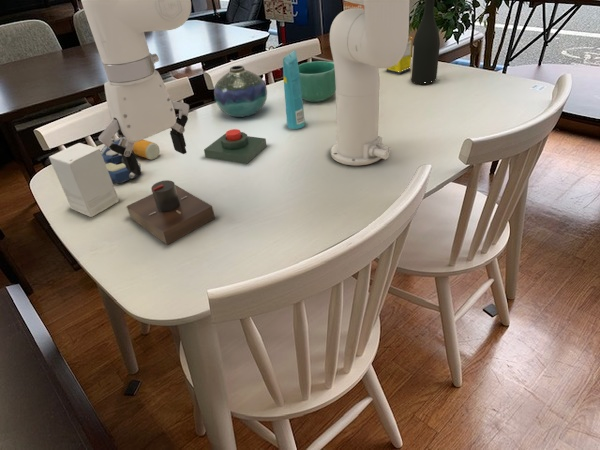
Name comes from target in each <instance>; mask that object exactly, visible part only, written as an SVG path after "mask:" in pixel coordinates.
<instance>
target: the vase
mask: <svg viewBox="0 0 600 450" xmlns="http://www.w3.org/2000/svg"><path fill="white" fill-rule="evenodd" d="M213 98H214V101H215V103H216V105H217V107H218V108H219V109H220V111H222V112H223V113H224V114H226V115H228V116H231V117H234V118H243V117H246V118H247V117H250V116H252V115H255V114H257V113H258V112H259V111H261V110H262V109H263V107H264V106H265V104H266V101H267V98H268V87H267V84H266V82H265V81H264V79H263V78H262V77H261V76H260V75H258V74H257V73H254V72H253V71H250V70H247V69H245V66H243V65H234V66H231V67H229V71H228V72H227V73H225V74H224V75H223V76H221V77H220V78H219V79H218V80H217V81H216V83H215V86H214V88H213Z"/></svg>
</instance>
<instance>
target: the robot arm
mask: <svg viewBox="0 0 600 450" xmlns="http://www.w3.org/2000/svg"><path fill="white" fill-rule="evenodd" d="M80 1H81V4H82V9H83V11H84V14H85V17H86V20H87V22H88V26H89V28H90V31H91V34H92V37H93V40H94V42H95V43H94V44H95V46H96V49H97V51H98V54H99V57H100V60H101V63H102V65H103V70H104V71H105V72H104V73H105V74H106V78H107V80H108V81H106V82H104V83H103V85H104V94H105V99H106V104H107V109H108V112H109V117H110V120H111V122H110V123H109V124H108V125H107V126H106V128H105V129H104V130H103V131H102V132H101V133H100V134H99V136H98V141H99V142H101V143H102V144H103V145H104V146H107V147H108V148H109V149H111V150H112V151H114V152H117V153H119V154H121V155H122V157H123V160H124V163H125V166H126V168H127V170H128V171H130V172H132V173H134V174H136V175H137V177H138V176H140V175H141V174H142V171H141V170H140V168H141V167H140V168H139V165H138V163H139V162H138V159H137V157H136V156H137V155H136V154H134V153H133V150H132V149H133V147H134V144H135V142H138V141H140V140H145V139H148V138H149V137H152V136H155V135H158V134H159V133H162V132H165V131H167V130H168V129H170V131H169V135H170V138H171V142H172V145H173V149H174V151H176V152H178V153H180V154H182V155H186V154H187V149H186V147H187V143H186V140H185V136H184V133H185V127H186V125H187V124H188V123H187V122H188V120H189V118H188V116H189V111H190V104H188V103H185V102H182V101H176V100H172V99H171V96H170V94H169V90H168V89H167V86H166V84H165V82H164V80H163V78H162V76H161V74H160V72H159V71H158V70H156V67H155V64H156V63H157V62H159V60H160V59H159V55H158V54H157V53H151V51H150V49H149V45H148V42H147V38H146V35H145V33H146V32H166V31H173V30H177V29H178V28H180V27H182V26H183V25H184V24H185V23H187V21H188V19H189V18H190V16H191V12H192V1H191V0H80ZM343 1H345V2H348V3H351V4H356V5H361V6H364V7H363V8H364V9H363V8H357V7H353V8H348V9H345V10H343V11H341V12H339V13H338V14H337V15H336V16H335V18H334V19H333V21H332V23H331V25H330V29H329V46H330V51H331V52H330V53H331V56H332V62H334V68H335V84H336V90H335V116H336V119H335V120H336V143H334V144H333V145H332V147H331V148H330V156H331V158H332V159H333V160H334V161H335V162H338V163H340V164H342V165H347V166H366V165H370V164H373V163H376V162H379V161H380V160H382V159H383V160H388V158H389V157H390V152H391V149H392V148H391V146H389V145H384V144H383V137H382V136H379V117H380V87H381V83H380V82H381V80H380V78H381V77H380V69H382V70H383V69H387V68H390V67H392V66H394V65H396V64H397V63H398V62H399V61H400V60H401V58H402V57H403V55H404V53H405V50H406V47H407V43H408V36H409V35H410V34H409V33H410V0H343ZM175 110H178V115H176V111H175ZM115 135H116V136H117V138H121V139H120V142H119V144H118V145H117V144H115V143H114V142H113V141H112V139H113V138H114V136H115Z"/></svg>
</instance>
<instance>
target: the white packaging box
mask: <svg viewBox="0 0 600 450" xmlns="http://www.w3.org/2000/svg"><path fill="white" fill-rule="evenodd" d="M48 159H49V161H50V163H51V166H52V168H53V171H54V172H55V174H56V177H57V179H58V181H59V183H60V186H61V188H62V190H63V193H64V195H65V197H66V199H67V202H68V204H69V206H70V209H71V210H73V211H75V212H78V213H80V214H82V215H85V216H88V217H90V218H93V217H95V216H97V215H99V214H100V213H102V212H104V211H105V210H107V209H108V208H111V207H112V206H113V205H115V204H117V203H118V202H119V201H120V199H119V197H118V194H117V191H116V188H115V185H114V184H113V183H114V182H112V180H111V178H110V175H109V172H108V170H107V167H106V164H105V162H104V159H103V156H102V153H101V148H100V147H95V146H93V145H88V144H85V143H82V142H78V143H75V144H73V145H71V146H68V147H66V148H64V149H62V150H60V151H57V152H56V153H53V154H52V155H49V156H48Z"/></svg>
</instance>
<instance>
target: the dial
mask: <svg viewBox="0 0 600 450" xmlns="http://www.w3.org/2000/svg"><path fill="white" fill-rule="evenodd" d="M175 185H176V183H175V181H172V180H167V179H166V180H165V179H164V180H161V181H160V180H159V181H157V182H156V183H153V185H152V186H151V188H150V189H151V194H153V196H154V199H155V202H156V206H157V209H158V210H159V211H162V212H168V211H172V210H175V209H176V208H178V207H179V205H180V202H179V198H178V194H177V191H176V187H175Z"/></svg>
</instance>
